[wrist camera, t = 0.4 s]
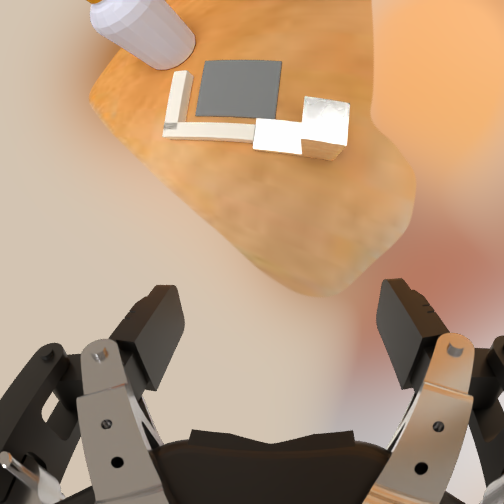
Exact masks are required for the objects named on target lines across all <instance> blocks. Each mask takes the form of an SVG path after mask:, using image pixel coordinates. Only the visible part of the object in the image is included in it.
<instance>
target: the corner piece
mask: <svg viewBox="0 0 504 504" xmlns="http://www.w3.org/2000/svg"><path fill="white" fill-rule="evenodd" d="M193 78H194V76H193V75H192V74H190V73H189V72H188V71H187V70H185V71H175V72H174V75H173V80H172V85H171V90H170V95H169V100H168V106H167V111H166V117H165V123H164V130H163V136H162V137H165V138H168V139H181V140H214V141H232V142H246V143H254V135H255V128H256V125H253V124H237V123H211V122H186V117H187V111H188V105H189V99H190V93H191V88H192V83H193Z"/></svg>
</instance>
